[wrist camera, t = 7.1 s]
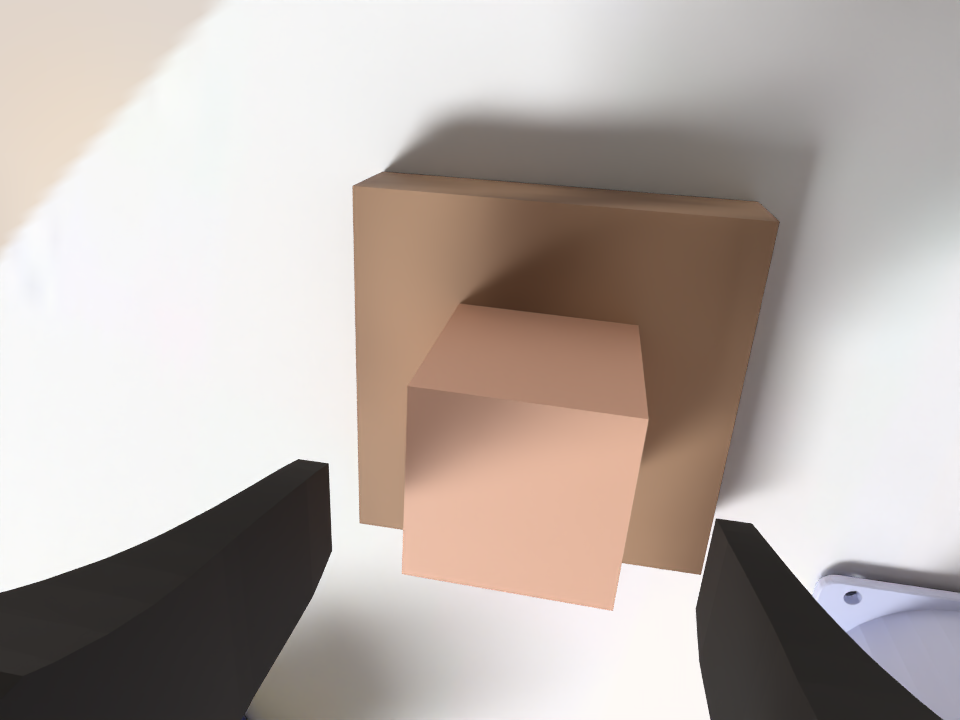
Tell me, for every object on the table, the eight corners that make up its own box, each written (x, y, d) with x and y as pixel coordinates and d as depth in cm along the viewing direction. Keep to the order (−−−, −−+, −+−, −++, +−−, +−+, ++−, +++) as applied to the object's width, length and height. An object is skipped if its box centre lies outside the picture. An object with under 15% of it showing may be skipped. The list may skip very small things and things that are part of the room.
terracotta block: (638, 325, 17) (648, 419, 13) (612, 479, 19) (612, 611, 14) (459, 303, 18) (407, 385, 13) (450, 455, 20) (401, 573, 15)
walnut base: (758, 201, 18) (779, 221, 16) (691, 522, 22) (700, 574, 20) (383, 171, 19) (352, 185, 17) (384, 478, 23) (359, 523, 21)
